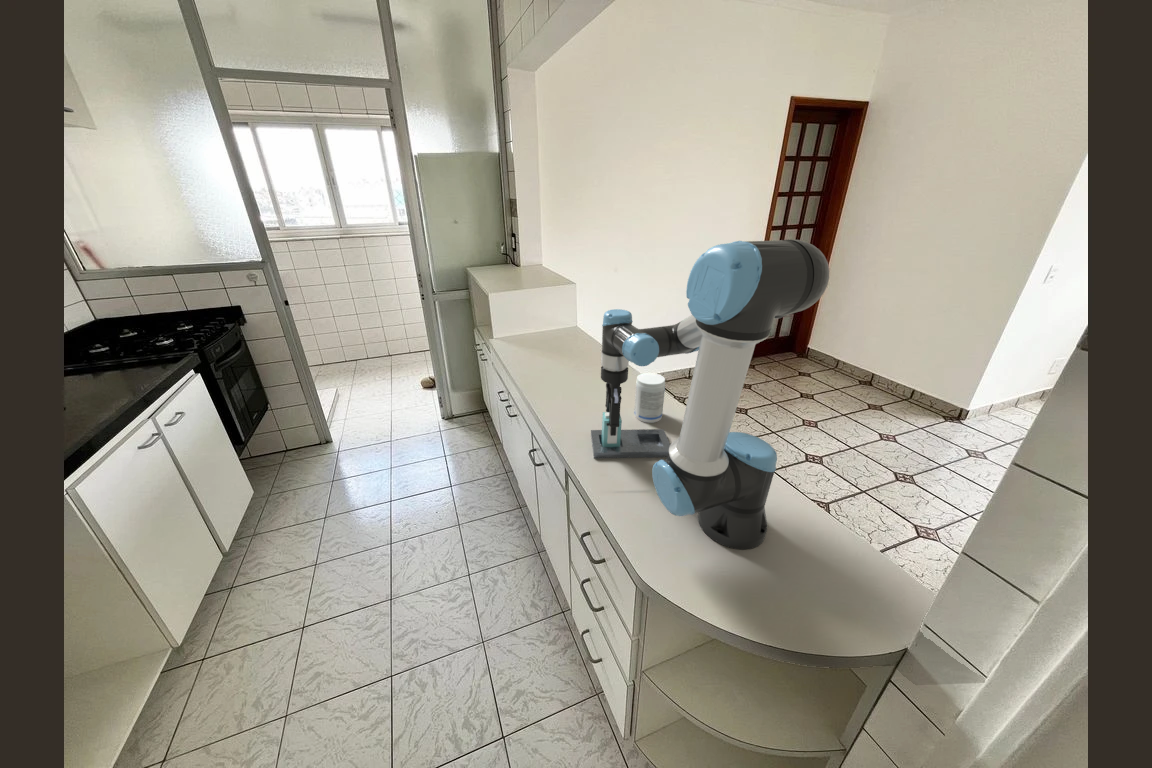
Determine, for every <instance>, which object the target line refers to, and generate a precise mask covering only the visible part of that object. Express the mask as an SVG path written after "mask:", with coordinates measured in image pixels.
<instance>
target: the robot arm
mask: <svg viewBox="0 0 1152 768" xmlns="http://www.w3.org/2000/svg"><path fill="white" fill-rule="evenodd" d="M829 267H830V266H829V262H828V260H827V258H826V256H825V254H824V253H823V252H822V251H821V250H820V248H817V247H816V246H815V245H814V244H811V243H809V242H808V241H804V240H801V239H781V240H752V241H751V240H748V241H747V240H746V241H745V240H744V241H743V240H736V241H732V242H729V243H727V242H726V243H719V244H717V245H714V246H712V247H709V248H708V249H707V250H706V251H705V252H703V253H702V254H701V255H699V257H698V258H697V259H696V261H695V263H694V264H693V266H692V268H691V270H690V273H689V275H688V279H687V284H686V291H685V292H686V293H685V294H686V298H687V300H688V303H687V306H688V309H689V312H690V313H691V315H689V316H688V317H686V318H684V319H683V320H681V321H679V322H678V323H675V324H672V325H671V324H670V325H663V326H657V327H654V326H653V327H646V328H637V327H636V326H634V324H633V315H632V313H631V312H630V311H628V310H625V309H619V308H617V309H608V310H607V311H605V312H604V314H603V318H602V319H603V320H602V324H601V325H602V326H601V327H602V329H601V330H602V332H601V333H602V334H601V335H602V337H601V342H602V343H601V346H602V347H601V353H600V354H601V355H600V357H601V359H600V365H601V367H600V380H601V381H602V382H604V383H605V388H606V391H605V393H606V394H605V412H609V423H607V426H608V438H607V443H608V444H614V443H617V431H618V427H619V420H620V416H621V403H622V396H621V394H622V386H621V384H624V383H626V382H627V381H628V379H629V362H630V363H633V364H634V365H635V366H639V367H647V366H649V365H651V363H654V362H655V361H656V359H657V358H662V357H663V358H664V357H668V356H676V355H683V354H687V355H688V354H691V353H695V352H697V356H696V360H695V366H694V369H693V375H692V378H691V383H690V387H689V393H688V397H687V402H686V406H685V409H684V410H685V411H684V415H683V420H682V425H681V429H680V433H679V437H677V438H676V439H674V440H673V441H672V442H671V443H670V447H669V451H668V456H667V457H665V459H659V460H658V461H656V462H655V463H654V464H653V466H652V468H651V469H652V470H651V472H652V474H651V475H652V481H653V486H654V488H655V491H656V494H657V496H658V498H659V500H660V502H661V503H662V504H663V506H664V508H665V509H666V510H667V511H668V512H669V513H671V514H672V515H674V516H677V517H684V516H688V515H690V516H693V515H694V514H697V513H698V515H697V520H698V525H699V527H700V528H701V530H702V531H703V532H704V533H705V534H706V536H707V537H709V538H710V539H711V540H713V542H716V543H718V544H719V545H722V546H724V547H727V548H731V549H736V550H750V549H753V548H754V549H755V548H757V547H759V546H760V545H761V544H762V543H764V541H765V539H766V535H767V531H768V521H767V514H766V513H767V512H766V507H765V505H766V503H767V499H768V495H769V492H770V489H771V485H772V482H773V477H774V475H775V472H776V470H777V467H776V466H777V461H778V454H777V452H776V449H774V447H773V446H772V445H771V444H770V443H768V442H767V441H766V440H764V439H762V438H760V437H757V436H756V435H753V434H750V433H747V432H740V431H739V432H738V431H730V430H731V427H732V425H733V421H734V419H735V418H734V417H735V416H736V412H737V407H738V404H739V401H740V397H741V395H742V391H743V388H744V385H745V381H746V377H747V374H748V370H749V368H750V364H751V361H752V358H753V355H754V351H755V348H756V345H757V344H759V343H760V342H763V341H764V340H765V341H766V339H768V338H769V336H770V333H771V330H772V327H773V324H774V320H778V319H782V318H784V317H787V316H789V315H793V314H795V313H798V312H802V311H805V310H807V309H809V308H810V307H812V306H813V305H814V304H816V303H817V302H818V301H819V300H820V299H821V297H822V296H823V295H824V293H825V291H826V290H827V288H828V285H829V280H830V268H829Z"/></svg>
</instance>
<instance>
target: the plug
mask: <svg viewBox="0 0 1152 768" xmlns="http://www.w3.org/2000/svg"><path fill="white" fill-rule="evenodd" d="M601 419H602V420H601V430H602V439H601V441H602V447H620V439H621V430H622V421H623V420H622V417H621V415H620V420H619V427H618V431H617V443H614V444H608V443H607V438H608V426H607V423H609V412H606V411H603V412H602V417H601Z"/></svg>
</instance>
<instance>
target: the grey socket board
mask: <svg viewBox="0 0 1152 768" xmlns="http://www.w3.org/2000/svg"><path fill="white" fill-rule="evenodd" d="M590 438H591V439H590V440H591V441H590V442H591V447H592V454H593V459H639V458H640V459H647V458H649V459H650V458H667V456H668V451H669V447H670V445H671V443H670V441H669V439H668V437H667V434H666V431H665V429H664V428H659V429H658V428H656V429H653V428H651V429H648V428H647V429H646V428H645V429H621V439H620V447H602V441H601V439H602V429H591V430H590Z"/></svg>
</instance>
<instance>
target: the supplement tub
mask: <svg viewBox="0 0 1152 768" xmlns="http://www.w3.org/2000/svg"><path fill="white" fill-rule="evenodd" d="M635 382H636V383H635V392H634V393H635V395H634V408H633V410H634V411H633V415H634V417H635V418H636V420H638V421H640V422H643V423H649V424H650V423H652V424H653V423H656V422H659V421H661V419H662V418H663V412H664V402H665V392H666V378H665V377H664V376H663V375H661V374H659V373H654V372H644V373H641V374H638V375H637V376H636V381H635Z"/></svg>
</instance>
